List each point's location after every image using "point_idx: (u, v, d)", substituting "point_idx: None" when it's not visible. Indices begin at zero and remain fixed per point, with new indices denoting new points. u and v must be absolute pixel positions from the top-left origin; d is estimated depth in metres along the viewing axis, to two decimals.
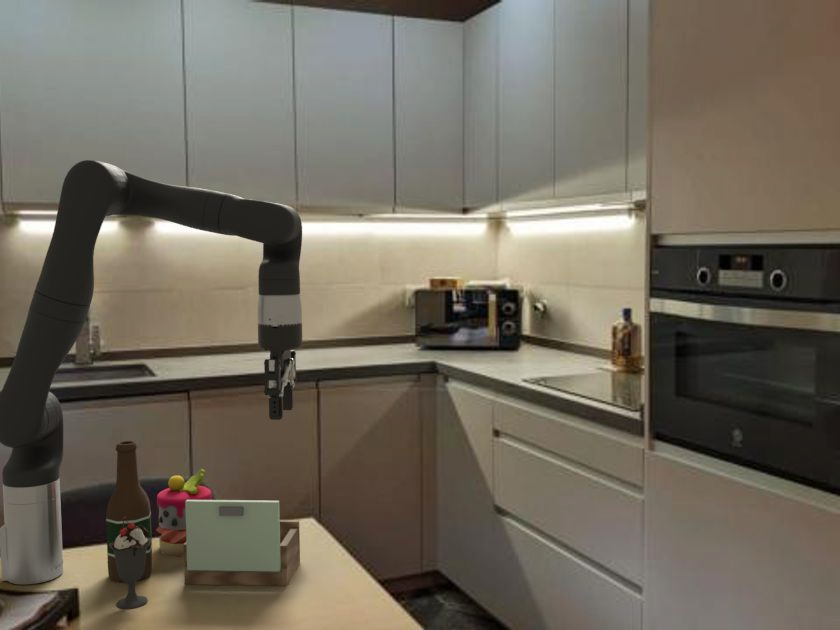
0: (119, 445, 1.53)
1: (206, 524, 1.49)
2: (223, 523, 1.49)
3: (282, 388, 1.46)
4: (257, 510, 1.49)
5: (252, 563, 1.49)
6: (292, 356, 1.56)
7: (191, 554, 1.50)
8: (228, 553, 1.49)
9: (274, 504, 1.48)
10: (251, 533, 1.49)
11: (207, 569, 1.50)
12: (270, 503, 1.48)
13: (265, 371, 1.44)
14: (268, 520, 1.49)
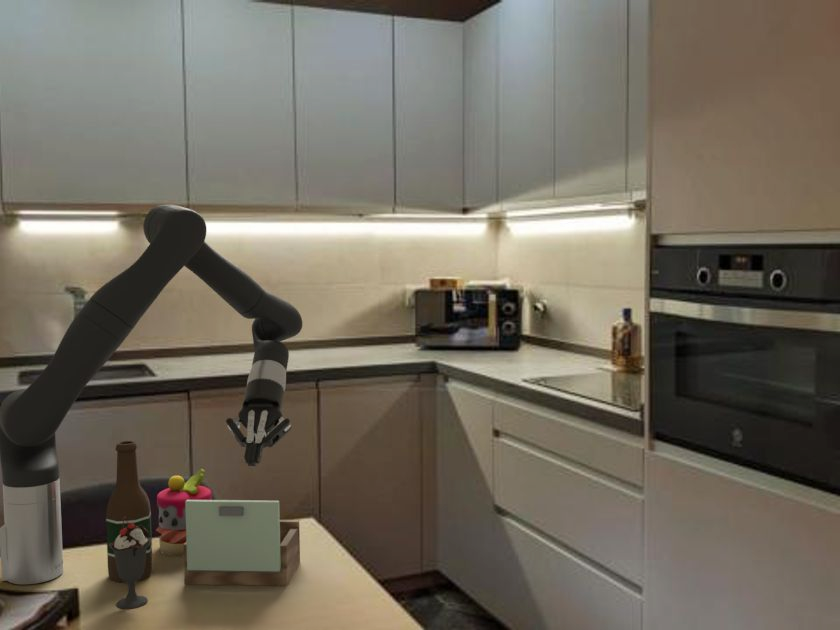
0: (119, 445, 1.53)
1: (206, 524, 1.49)
2: (223, 523, 1.49)
3: None
4: (257, 510, 1.49)
5: (252, 563, 1.49)
6: None
7: (191, 554, 1.50)
8: (228, 553, 1.49)
9: (274, 504, 1.48)
10: (251, 533, 1.49)
11: (207, 569, 1.50)
12: (270, 503, 1.48)
13: (283, 428, 1.66)
14: (268, 520, 1.49)
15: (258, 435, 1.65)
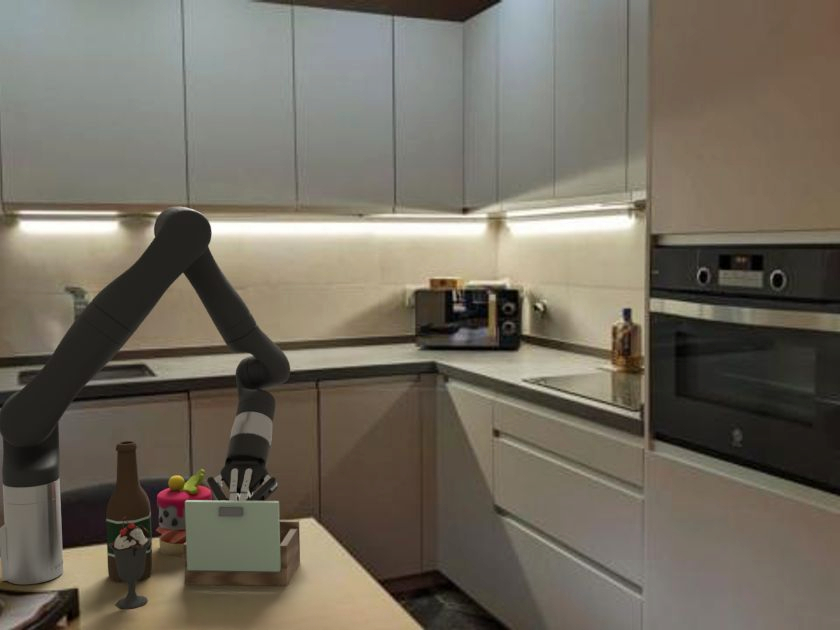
0: (119, 445, 1.53)
1: (206, 524, 1.49)
2: (223, 523, 1.49)
3: None
4: (257, 511, 1.48)
5: (252, 563, 1.49)
6: None
7: (191, 555, 1.50)
8: (228, 553, 1.49)
9: (274, 505, 1.48)
10: (250, 534, 1.49)
11: (207, 569, 1.50)
12: (270, 504, 1.48)
13: (269, 488, 1.54)
14: (268, 520, 1.48)
15: (242, 496, 1.53)
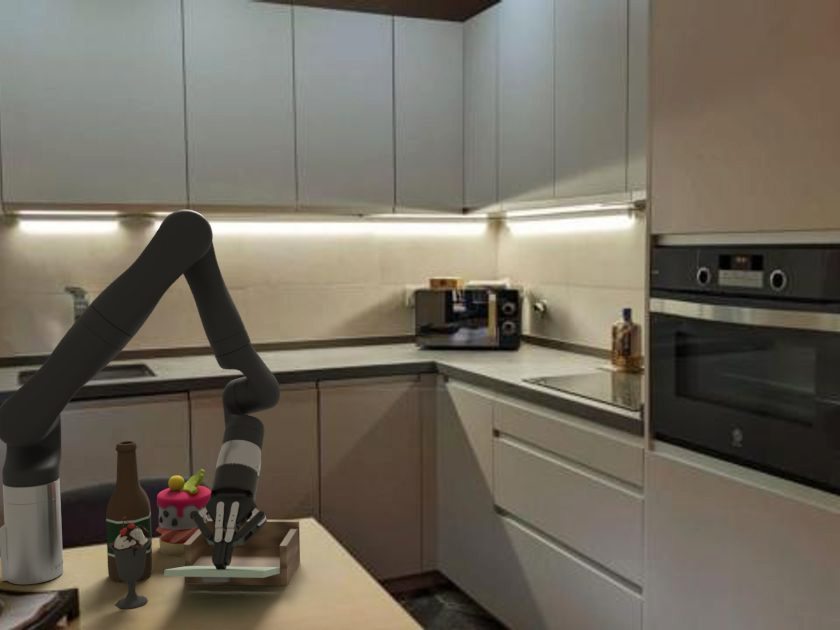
0: (119, 445, 1.53)
1: None
2: None
3: None
4: None
5: None
6: None
7: None
8: None
9: None
10: None
11: None
12: (255, 577, 1.38)
13: (257, 522, 1.45)
14: None
15: (228, 532, 1.44)
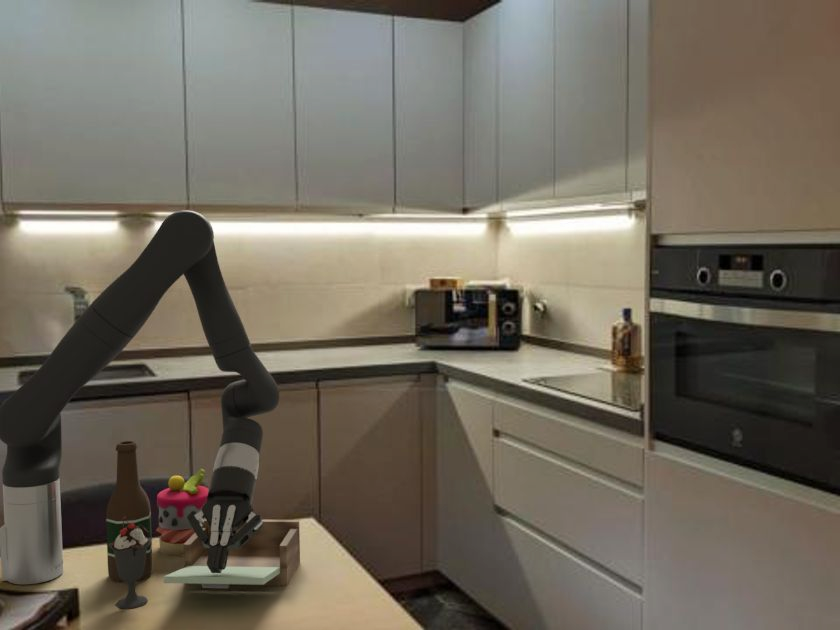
0: (119, 445, 1.53)
1: None
2: None
3: None
4: None
5: None
6: None
7: None
8: None
9: (260, 584, 1.38)
10: None
11: None
12: None
13: (253, 526, 1.43)
14: None
15: (224, 536, 1.42)
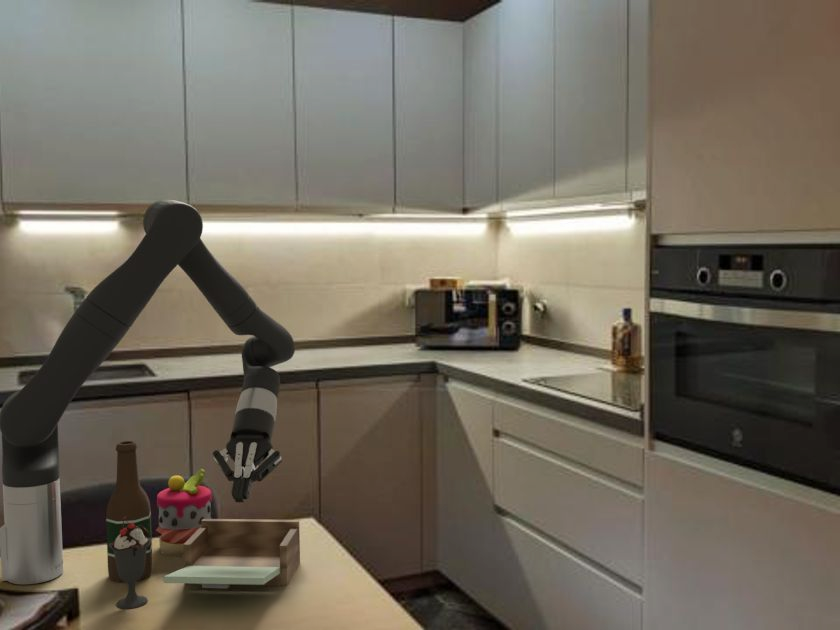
0: (119, 445, 1.53)
1: None
2: None
3: None
4: None
5: None
6: None
7: None
8: None
9: (260, 584, 1.38)
10: None
11: None
12: None
13: (273, 461, 1.57)
14: None
15: (246, 469, 1.56)
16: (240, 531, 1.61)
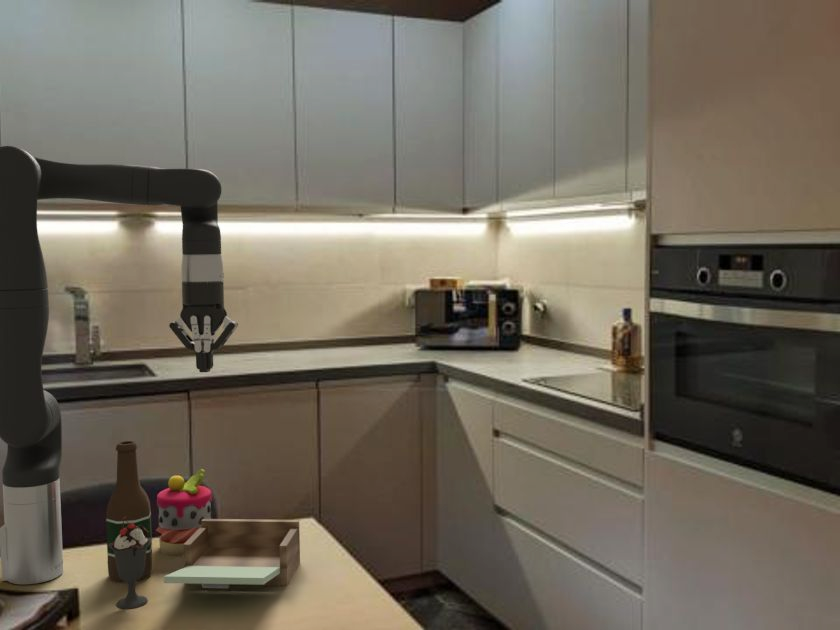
0: (119, 445, 1.53)
1: None
2: None
3: None
4: None
5: None
6: None
7: None
8: None
9: (260, 584, 1.38)
10: None
11: None
12: None
13: (229, 333, 1.62)
14: None
15: (205, 343, 1.62)
16: (240, 531, 1.61)
